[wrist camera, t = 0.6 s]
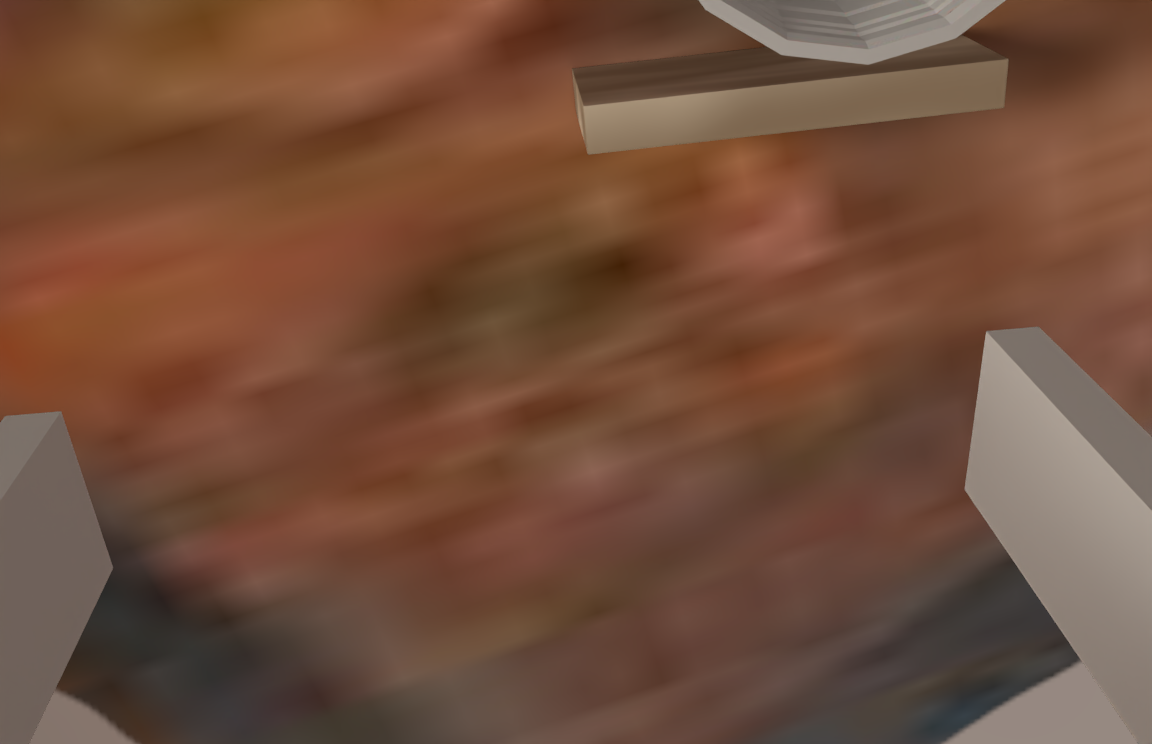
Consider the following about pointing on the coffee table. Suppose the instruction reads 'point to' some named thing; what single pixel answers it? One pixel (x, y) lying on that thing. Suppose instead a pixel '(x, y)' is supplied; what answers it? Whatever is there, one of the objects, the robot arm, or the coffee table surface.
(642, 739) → the coffee table surface
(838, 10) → the plastic cup
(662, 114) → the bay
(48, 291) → the coffee table surface
